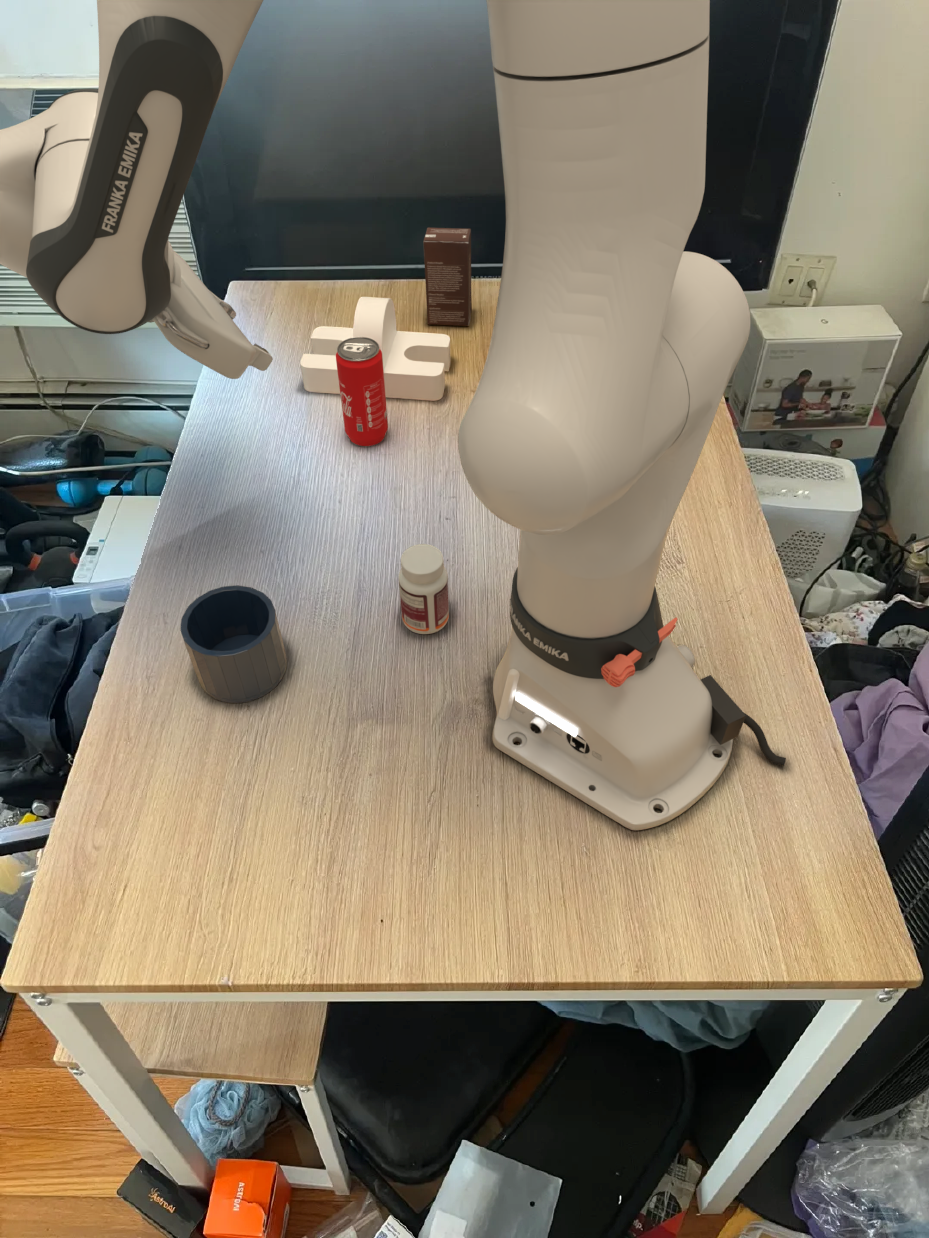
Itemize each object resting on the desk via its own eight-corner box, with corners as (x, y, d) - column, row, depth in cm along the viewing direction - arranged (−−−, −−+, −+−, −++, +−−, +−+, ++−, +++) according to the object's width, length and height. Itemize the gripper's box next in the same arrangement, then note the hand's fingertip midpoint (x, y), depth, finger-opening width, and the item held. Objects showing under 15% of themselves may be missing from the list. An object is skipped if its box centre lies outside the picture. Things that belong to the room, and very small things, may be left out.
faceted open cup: (304, 669, 87) (293, 621, 82) (229, 718, 83) (213, 671, 78) (254, 620, 91) (241, 571, 86) (181, 665, 87) (162, 617, 82)
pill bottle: (439, 594, 93) (437, 535, 87) (455, 627, 90) (455, 568, 84) (395, 607, 92) (389, 548, 86) (410, 641, 89) (406, 582, 83)
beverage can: (382, 451, 108) (374, 363, 99) (340, 445, 109) (328, 358, 100) (393, 425, 112) (386, 338, 103) (352, 419, 112) (342, 333, 103)
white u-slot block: (441, 401, 115) (439, 328, 107) (302, 391, 116) (290, 319, 109) (451, 358, 121) (450, 287, 113) (319, 349, 123) (309, 278, 115)
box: (471, 310, 129) (472, 227, 120) (468, 328, 126) (469, 243, 117) (429, 308, 129) (426, 225, 120) (425, 325, 126) (422, 241, 117)
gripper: (187, 297, 76) (308, 364, 87) (112, 198, 87) (227, 268, 98) (148, 359, 78) (272, 417, 88) (79, 254, 89) (196, 317, 100)
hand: (248, 338), depth 93 cm, fingers open, 8 cm apart
